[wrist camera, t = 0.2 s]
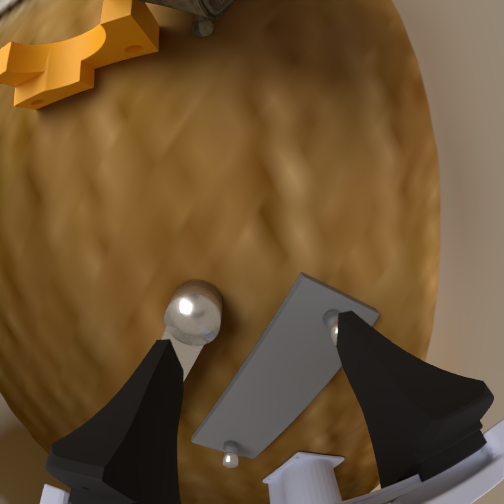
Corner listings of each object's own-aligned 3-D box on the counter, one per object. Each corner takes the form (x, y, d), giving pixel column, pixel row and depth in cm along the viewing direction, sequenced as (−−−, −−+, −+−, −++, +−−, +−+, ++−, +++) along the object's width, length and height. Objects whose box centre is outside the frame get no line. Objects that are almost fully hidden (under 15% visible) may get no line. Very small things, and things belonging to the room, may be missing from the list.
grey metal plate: (253, 452, 29) (254, 477, 25) (192, 435, 27) (188, 462, 23) (375, 309, 23) (395, 332, 19) (301, 271, 22) (313, 293, 18)
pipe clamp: (36, 109, 17) (-13, 102, 11) (39, 68, 16) (-5, 52, 9) (158, 70, 17) (128, 38, 11) (159, 25, 16) (133, -15, 10)
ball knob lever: (169, 405, 26) (164, 427, 23) (134, 390, 25) (126, 411, 22) (231, 292, 22) (230, 312, 19) (184, 270, 22) (176, 287, 19)
